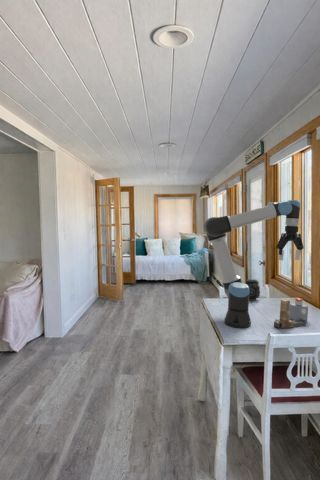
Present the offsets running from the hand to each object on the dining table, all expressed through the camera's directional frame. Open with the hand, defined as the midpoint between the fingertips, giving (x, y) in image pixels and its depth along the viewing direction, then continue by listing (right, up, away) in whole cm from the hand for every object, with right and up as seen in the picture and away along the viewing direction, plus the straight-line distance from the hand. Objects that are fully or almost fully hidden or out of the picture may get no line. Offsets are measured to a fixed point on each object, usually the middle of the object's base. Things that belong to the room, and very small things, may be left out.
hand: (289, 260), depth 192 cm
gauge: (+7, -31, +3) cm, 32 cm away
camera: (-8, -34, +50) cm, 61 cm away
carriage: (-8, -38, -11) cm, 40 cm away
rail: (-3, -38, -10) cm, 39 cm away
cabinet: (+7, -37, +3) cm, 38 cm away
